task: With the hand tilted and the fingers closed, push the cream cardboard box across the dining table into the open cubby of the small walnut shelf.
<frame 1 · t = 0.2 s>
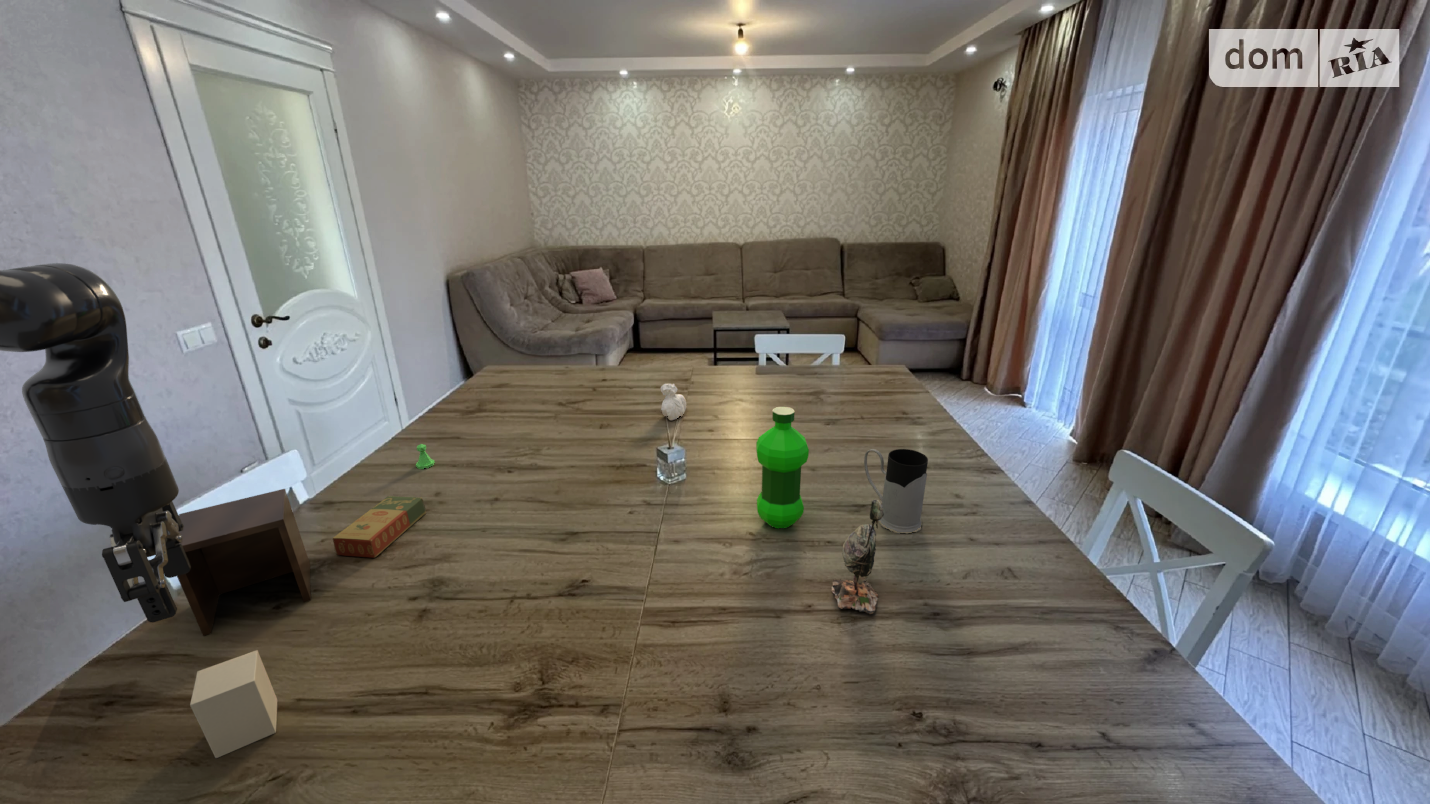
hand: (172, 594, 62), 23 cm above the table, tool pointing down, fingers open, 8 cm apart
glass holder: (888, 517, 116), on the table
cream box: (248, 727, 72), on the table
carton: (384, 534, 112), on the table
plastic bottle: (779, 522, 115), on the table
game piece: (425, 466, 140), on the table
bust: (673, 416, 170), on the table
walnut shelf: (261, 597, 95), on the table
bird figurine: (854, 593, 94), on the table
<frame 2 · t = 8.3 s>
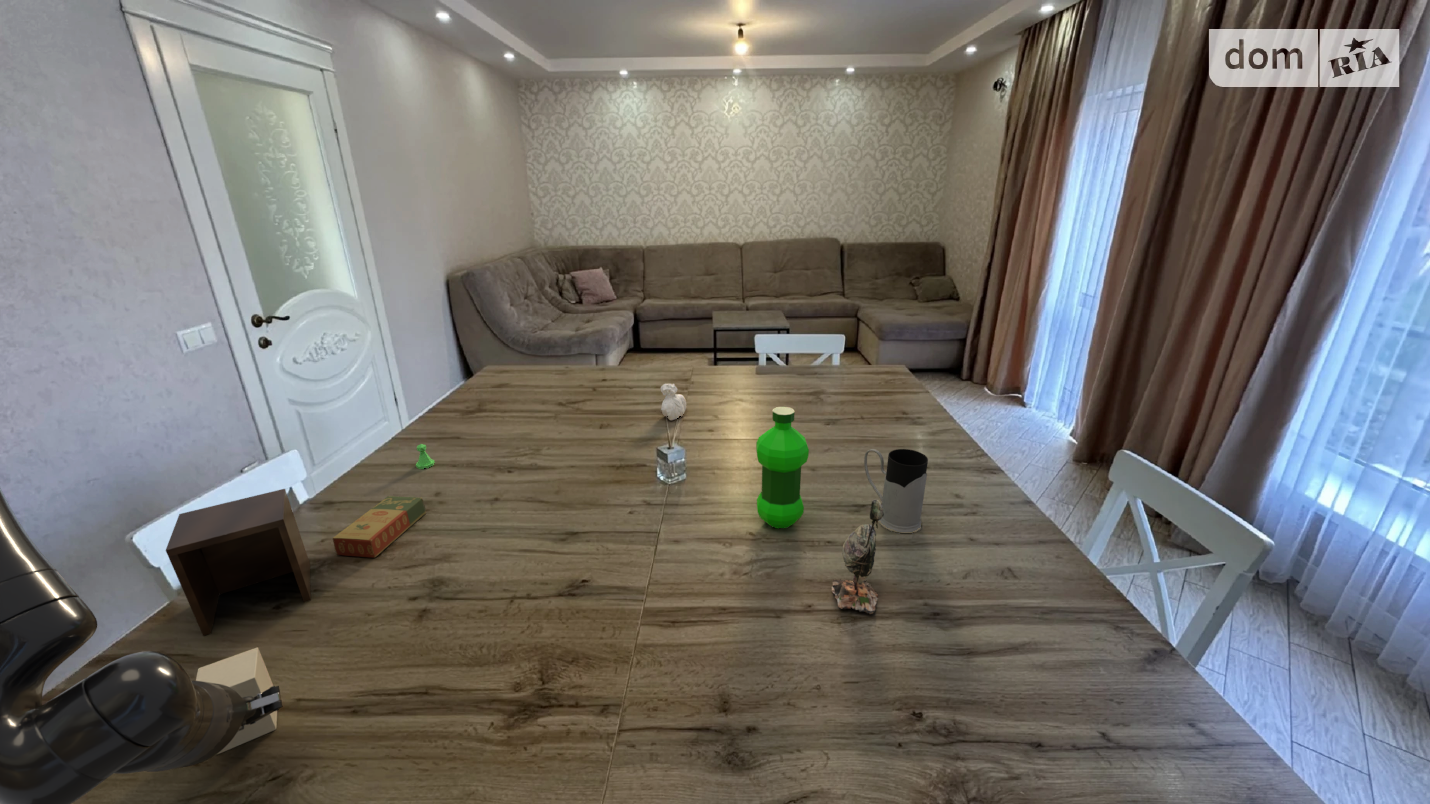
hand: (235, 723, 68), 4 cm above the table, tool tilted 45°, fingers closed
cream box: (248, 724, 72), on the table, touching gripper
everything else where it was.
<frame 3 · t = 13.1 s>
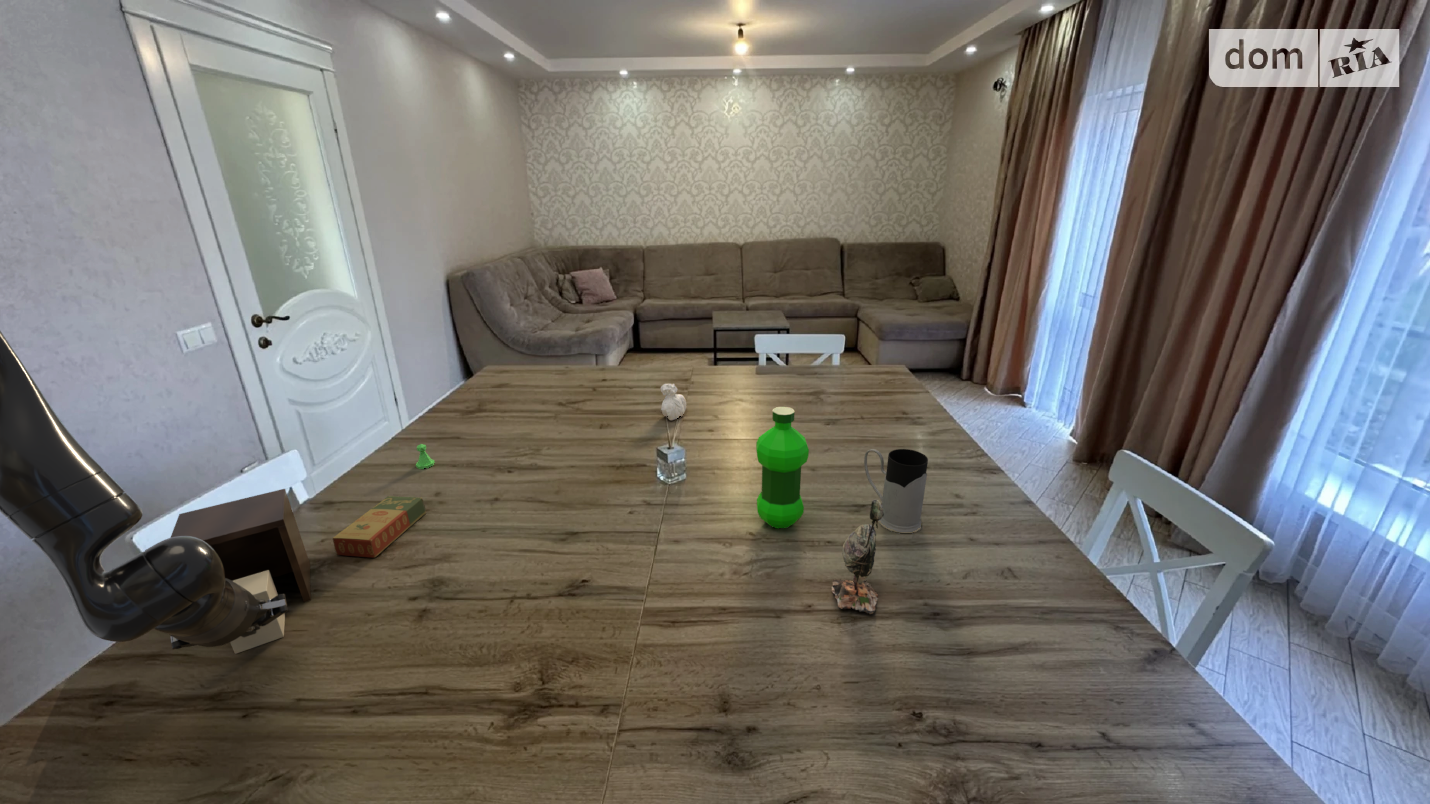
hand: (249, 628, 83), 4 cm above the table, tool tilted 45°, fingers closed
cream box: (261, 633, 87), on the table, touching gripper
everything else where it was.
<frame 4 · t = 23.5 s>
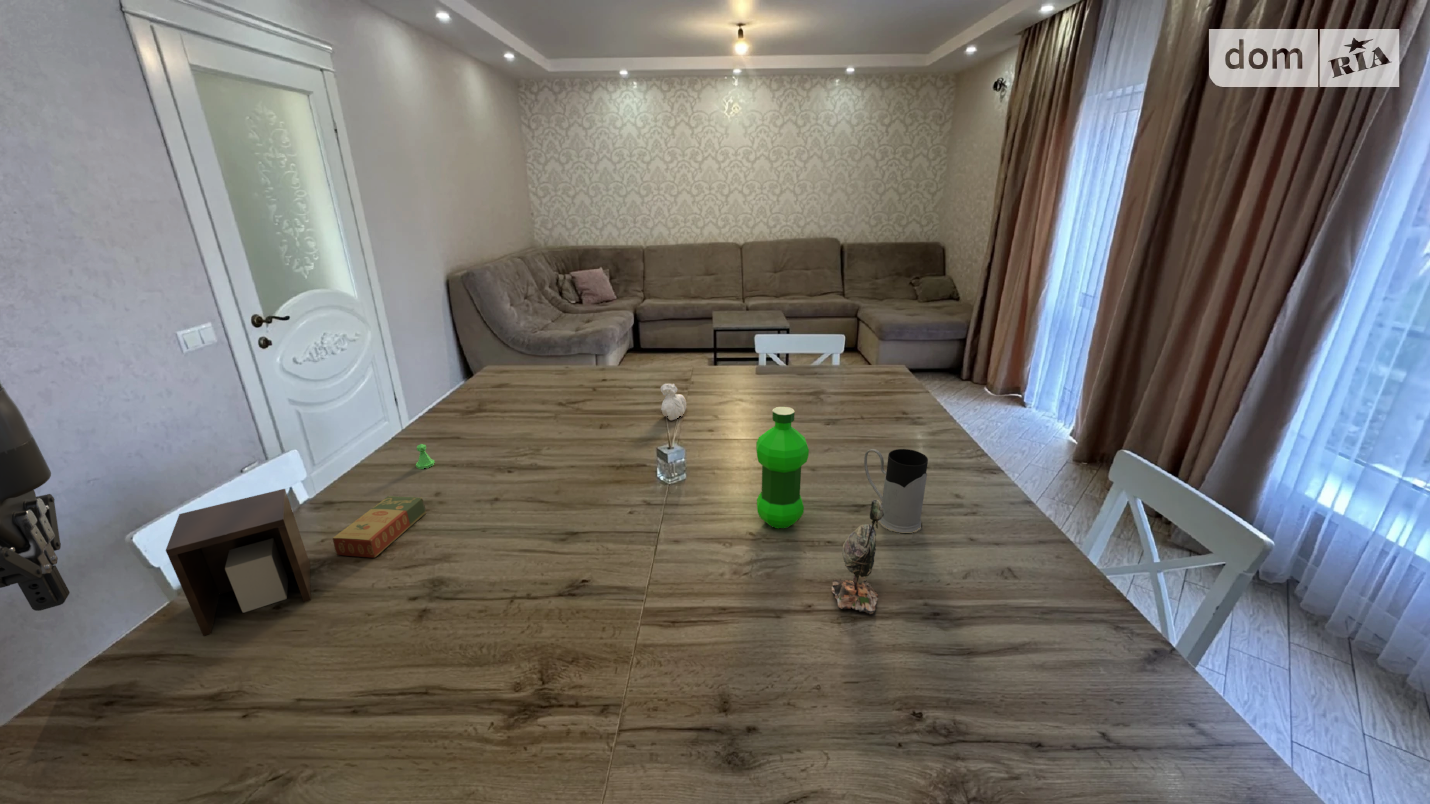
hand: (52, 603, 55), 27 cm above the table, tool pointing down, fingers closed
cream box: (266, 595, 95), on the table
everything else where it was.
at the end: cream box inside the target area on the walnut shelf (1.0 cm from its centre), point 0.0 cm above the walnut shelf's base; cream box tilted 0°; cream box moved 30.3 cm from its start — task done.
